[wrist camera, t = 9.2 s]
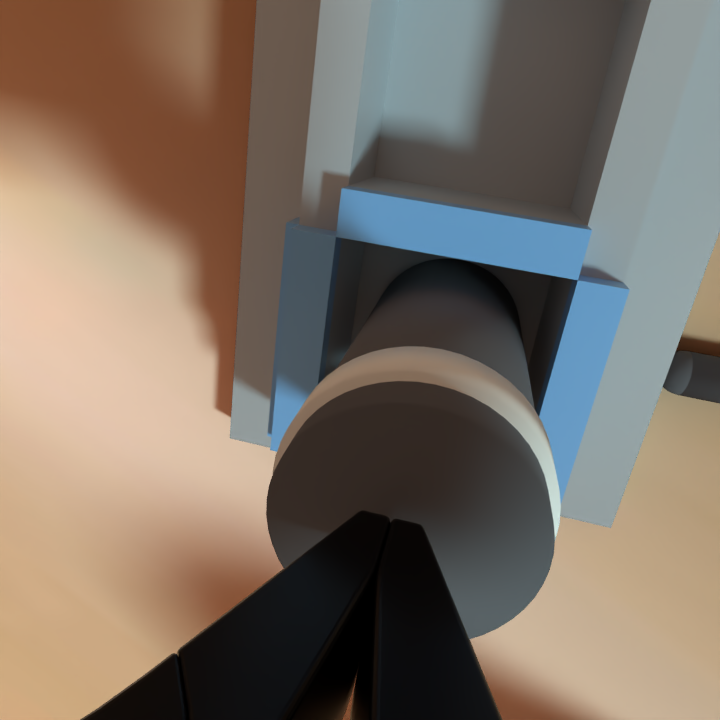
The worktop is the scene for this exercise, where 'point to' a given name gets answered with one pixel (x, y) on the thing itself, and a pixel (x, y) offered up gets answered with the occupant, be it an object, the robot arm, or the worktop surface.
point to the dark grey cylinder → (430, 441)
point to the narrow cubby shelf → (484, 198)
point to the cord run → (694, 376)
